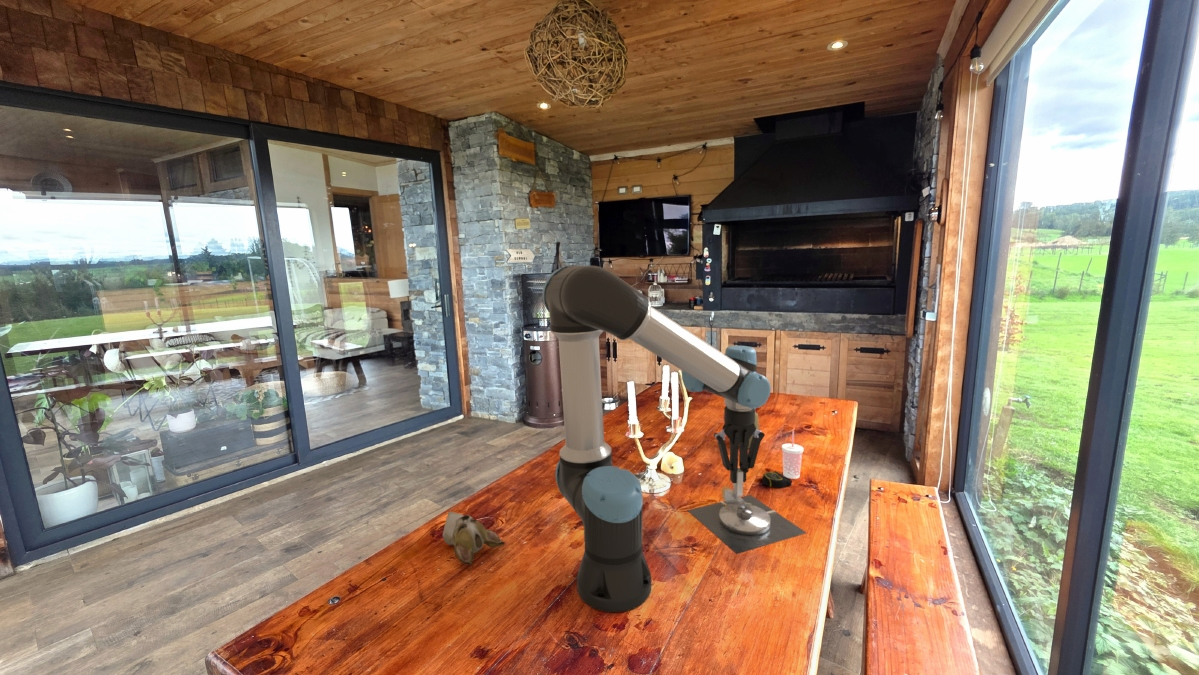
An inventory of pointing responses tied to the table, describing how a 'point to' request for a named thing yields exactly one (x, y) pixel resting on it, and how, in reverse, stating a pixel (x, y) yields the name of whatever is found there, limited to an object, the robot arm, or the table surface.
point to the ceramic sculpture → (468, 536)
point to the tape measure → (776, 480)
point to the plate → (741, 542)
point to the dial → (742, 515)
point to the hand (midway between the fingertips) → (737, 493)
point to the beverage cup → (792, 459)
